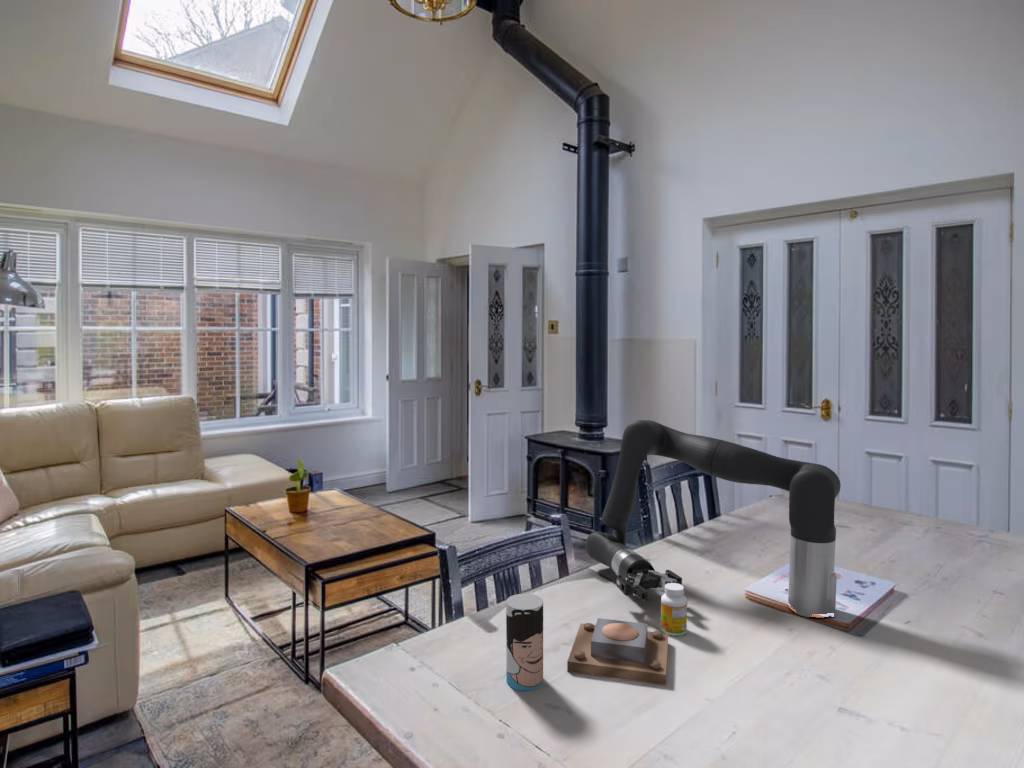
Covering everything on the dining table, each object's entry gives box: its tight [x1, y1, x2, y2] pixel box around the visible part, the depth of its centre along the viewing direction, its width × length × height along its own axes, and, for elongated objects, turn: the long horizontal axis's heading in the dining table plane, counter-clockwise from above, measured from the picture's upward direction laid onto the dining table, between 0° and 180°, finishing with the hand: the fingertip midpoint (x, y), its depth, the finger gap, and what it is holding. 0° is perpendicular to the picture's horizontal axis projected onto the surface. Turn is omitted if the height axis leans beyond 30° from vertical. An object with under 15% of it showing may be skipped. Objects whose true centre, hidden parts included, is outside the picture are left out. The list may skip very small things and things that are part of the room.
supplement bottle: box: [660, 583, 688, 637], centre depth 135 cm, size 5×5×10 cm
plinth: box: [566, 617, 669, 686], centre depth 125 cm, size 18×16×5 cm
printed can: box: [505, 593, 544, 692], centre depth 116 cm, size 7×7×15 cm
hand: (664, 595), depth 139 cm, fingers open, 8 cm apart
